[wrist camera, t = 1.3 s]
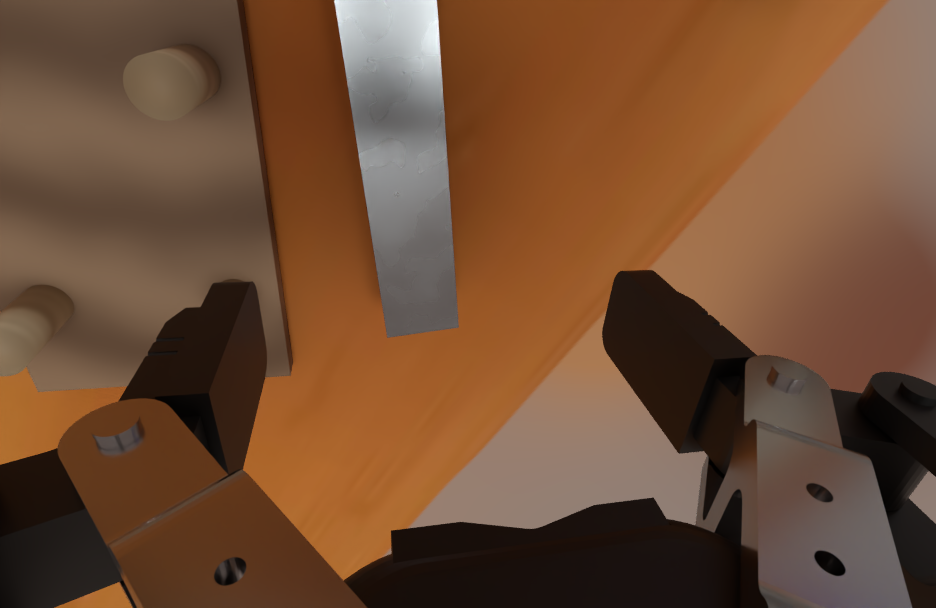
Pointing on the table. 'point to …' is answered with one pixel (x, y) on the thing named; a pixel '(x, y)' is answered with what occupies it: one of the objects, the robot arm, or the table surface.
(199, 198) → the cradle
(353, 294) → the table surface
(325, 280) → the table surface
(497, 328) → the table surface
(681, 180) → the table surface
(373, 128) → the bar
